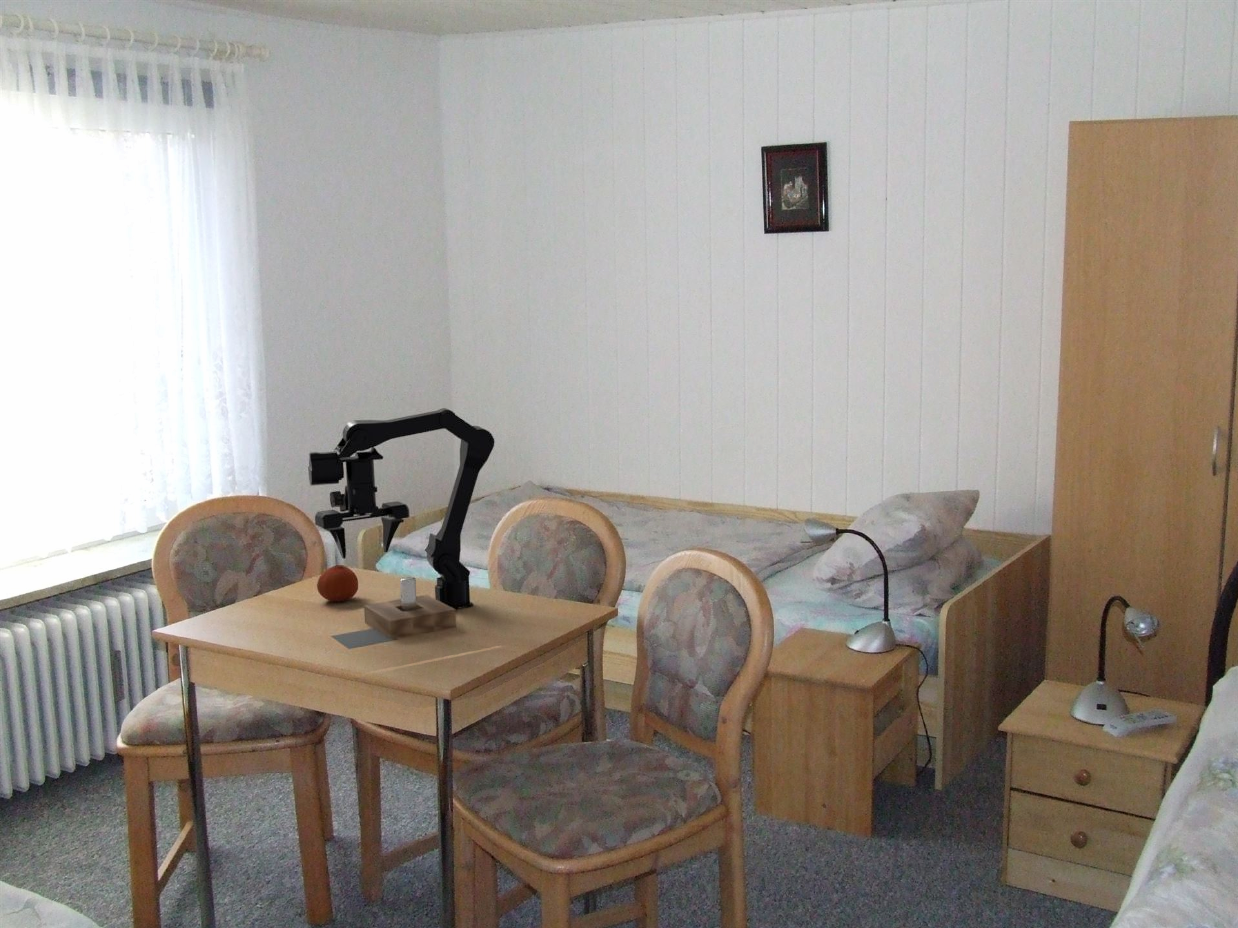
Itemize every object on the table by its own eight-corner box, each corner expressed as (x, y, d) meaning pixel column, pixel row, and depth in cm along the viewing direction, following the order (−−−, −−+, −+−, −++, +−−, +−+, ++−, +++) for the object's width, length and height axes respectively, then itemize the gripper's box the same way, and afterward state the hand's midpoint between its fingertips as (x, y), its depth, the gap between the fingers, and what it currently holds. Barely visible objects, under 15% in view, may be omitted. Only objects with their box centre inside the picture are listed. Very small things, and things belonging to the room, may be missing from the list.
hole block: (427, 612, 264) (426, 594, 263) (456, 628, 252) (455, 609, 252) (364, 624, 257) (363, 605, 256) (391, 640, 245) (390, 621, 244)
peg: (414, 623, 257) (411, 576, 255) (419, 626, 254) (417, 579, 252) (400, 625, 255) (398, 578, 253) (406, 629, 252) (403, 581, 251)
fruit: (319, 596, 279) (317, 561, 277) (359, 594, 280) (357, 559, 279) (316, 607, 270) (314, 571, 269) (358, 604, 272) (356, 568, 270)
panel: (378, 629, 253) (378, 627, 253) (397, 641, 245) (397, 639, 245) (331, 637, 248) (330, 635, 248) (349, 650, 239) (348, 648, 239)
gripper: (388, 471, 270) (391, 542, 273) (304, 481, 260) (308, 554, 263) (408, 478, 261) (412, 551, 263) (322, 489, 251) (326, 564, 254)
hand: (364, 555), depth 261 cm, fingers open, 9 cm apart
